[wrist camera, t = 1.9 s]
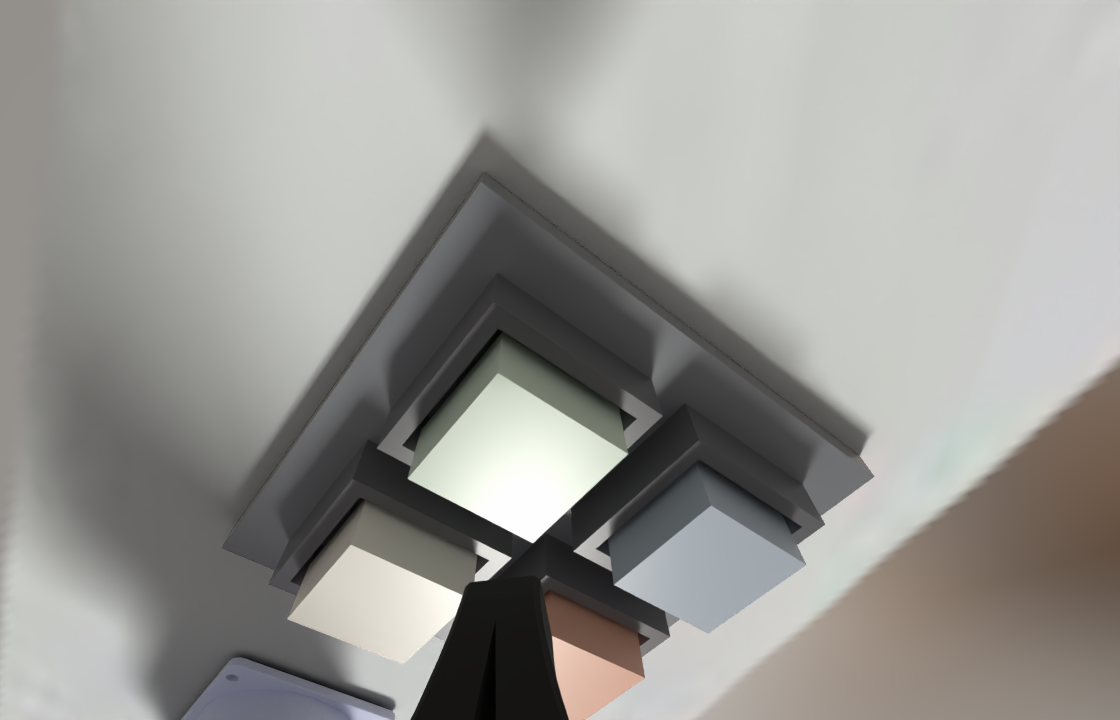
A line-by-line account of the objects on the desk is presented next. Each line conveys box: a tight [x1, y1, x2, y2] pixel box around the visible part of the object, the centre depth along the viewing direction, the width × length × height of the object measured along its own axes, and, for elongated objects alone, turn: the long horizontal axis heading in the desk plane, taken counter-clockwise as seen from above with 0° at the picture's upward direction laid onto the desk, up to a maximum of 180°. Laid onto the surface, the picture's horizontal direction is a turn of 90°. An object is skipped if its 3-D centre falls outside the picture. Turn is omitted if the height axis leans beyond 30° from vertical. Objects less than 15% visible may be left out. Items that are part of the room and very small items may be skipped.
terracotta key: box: [543, 589, 645, 720], centre depth 21 cm, size 4×4×2 cm
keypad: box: [222, 173, 874, 657], centre depth 20 cm, size 16×16×3 cm
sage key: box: [407, 332, 628, 543], centre depth 16 cm, size 4×4×2 cm
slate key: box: [608, 460, 806, 633], centre depth 18 cm, size 4×4×2 cm
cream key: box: [287, 499, 477, 664], centre depth 18 cm, size 4×4×2 cm
